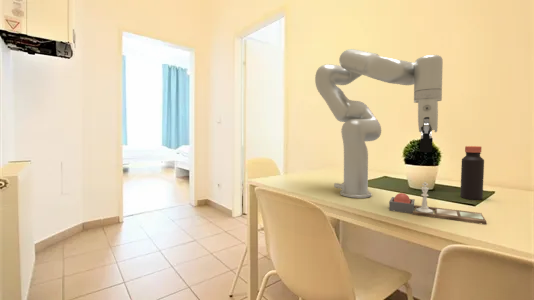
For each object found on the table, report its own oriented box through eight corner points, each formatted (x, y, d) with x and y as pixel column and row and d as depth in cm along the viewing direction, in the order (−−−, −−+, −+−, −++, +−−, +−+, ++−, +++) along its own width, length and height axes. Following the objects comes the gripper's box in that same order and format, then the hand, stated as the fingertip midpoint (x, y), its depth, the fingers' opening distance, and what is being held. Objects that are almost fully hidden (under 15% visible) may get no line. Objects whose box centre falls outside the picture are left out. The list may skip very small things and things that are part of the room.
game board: (412, 214, 83) (412, 211, 83) (414, 207, 90) (414, 204, 90) (486, 224, 73) (486, 221, 73) (481, 215, 81) (481, 212, 81)
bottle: (457, 195, 106) (459, 145, 104) (478, 196, 103) (480, 146, 102) (463, 199, 99) (465, 147, 98) (485, 200, 97) (488, 147, 95)
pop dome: (392, 207, 87) (393, 193, 87) (394, 204, 92) (394, 190, 91) (409, 209, 85) (410, 195, 84) (410, 206, 89) (411, 192, 89)
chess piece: (435, 214, 82) (436, 183, 81) (418, 214, 83) (419, 183, 82) (429, 210, 87) (430, 180, 86) (413, 209, 88) (414, 180, 87)
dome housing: (389, 210, 87) (389, 201, 87) (391, 205, 93) (392, 196, 93) (413, 213, 84) (413, 204, 83) (414, 208, 89) (414, 199, 89)
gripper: (442, 92, 73) (441, 153, 74) (441, 98, 87) (439, 149, 89) (412, 94, 77) (411, 152, 78) (415, 100, 91) (414, 149, 93)
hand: (426, 150), depth 83 cm, fingers open, 9 cm apart
